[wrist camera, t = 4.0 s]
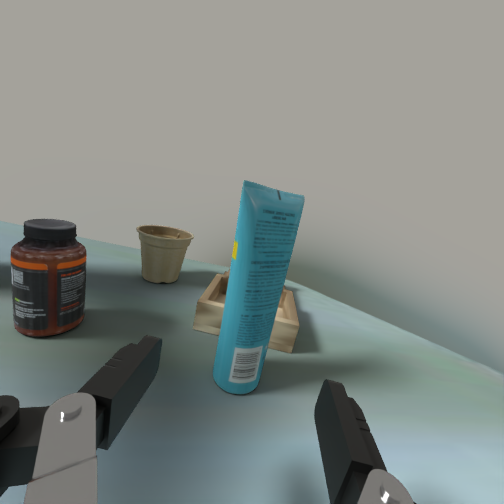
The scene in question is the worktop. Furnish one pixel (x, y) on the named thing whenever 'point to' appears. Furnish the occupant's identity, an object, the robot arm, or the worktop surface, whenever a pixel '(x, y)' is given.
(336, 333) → the worktop surface
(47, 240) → the supplement bottle
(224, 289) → the keyhole tray
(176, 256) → the flower pot
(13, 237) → the worktop surface
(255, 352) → the tube
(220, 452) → the worktop surface
